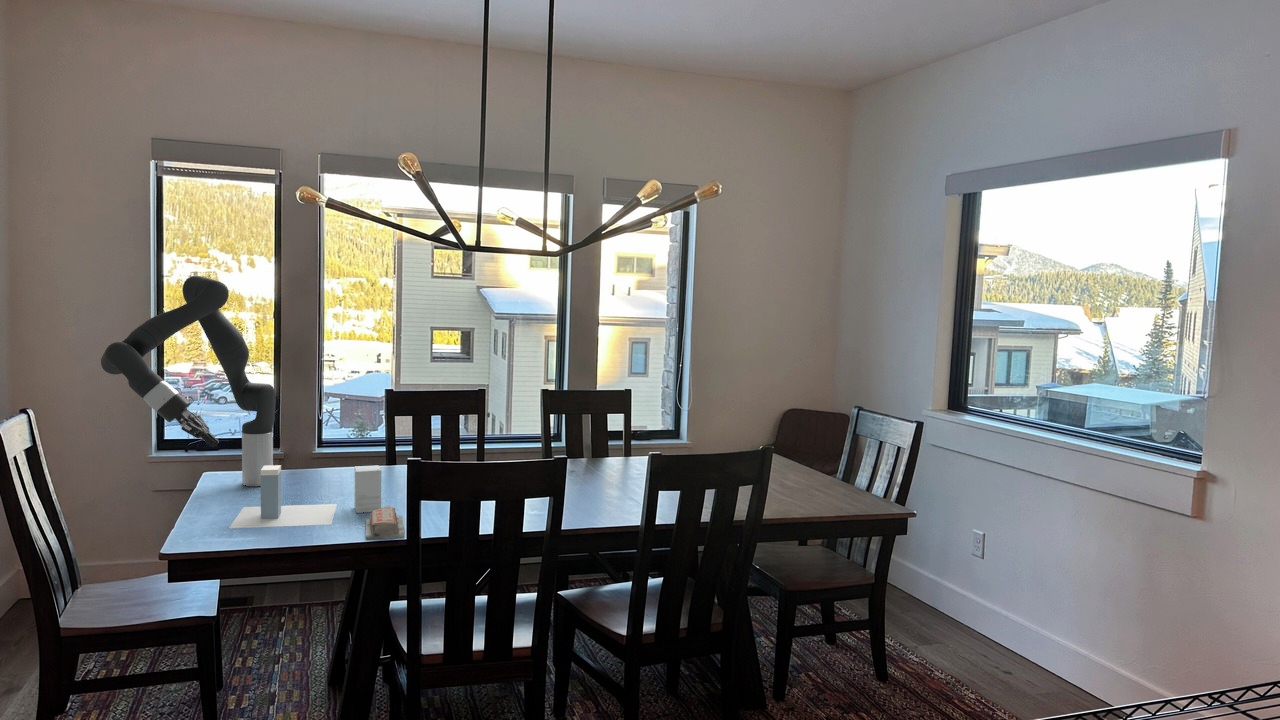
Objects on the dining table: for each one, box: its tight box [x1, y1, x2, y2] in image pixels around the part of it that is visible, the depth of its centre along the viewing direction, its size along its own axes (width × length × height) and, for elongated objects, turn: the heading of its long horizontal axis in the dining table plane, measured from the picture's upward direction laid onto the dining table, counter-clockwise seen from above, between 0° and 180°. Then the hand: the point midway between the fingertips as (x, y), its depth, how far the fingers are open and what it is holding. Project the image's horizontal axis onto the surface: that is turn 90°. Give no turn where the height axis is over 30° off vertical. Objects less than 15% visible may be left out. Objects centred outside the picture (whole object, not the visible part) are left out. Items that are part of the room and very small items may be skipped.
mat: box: [228, 503, 338, 529], centre depth 241 cm, size 22×26×1 cm
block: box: [260, 464, 282, 519], centre depth 240 cm, size 6×4×14 cm
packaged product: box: [365, 506, 405, 540], centre depth 233 cm, size 18×5×10 cm
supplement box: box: [354, 464, 382, 514], centre depth 252 cm, size 7×7×13 cm
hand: (216, 444), depth 235 cm, fingers closed
